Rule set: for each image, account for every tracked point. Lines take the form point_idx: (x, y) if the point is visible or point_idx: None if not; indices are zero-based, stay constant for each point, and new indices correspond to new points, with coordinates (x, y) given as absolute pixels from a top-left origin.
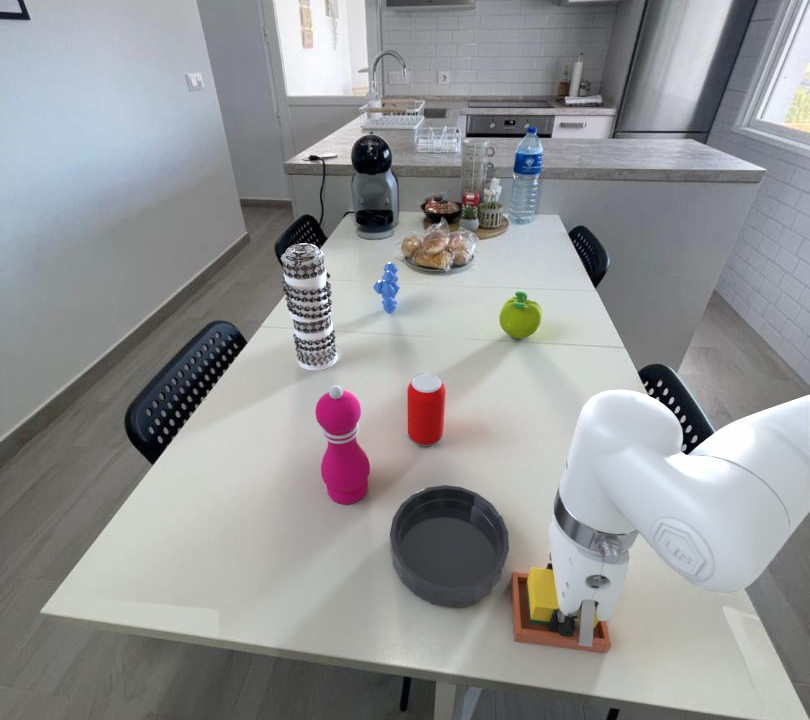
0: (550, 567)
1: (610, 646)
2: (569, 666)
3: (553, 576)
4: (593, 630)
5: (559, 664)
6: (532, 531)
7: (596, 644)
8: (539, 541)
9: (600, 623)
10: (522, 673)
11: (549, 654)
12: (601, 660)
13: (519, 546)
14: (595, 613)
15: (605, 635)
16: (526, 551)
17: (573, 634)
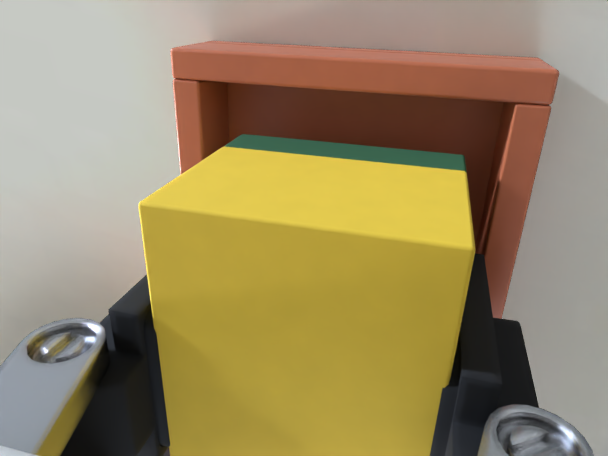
0: (156, 454)
1: (557, 71)
2: (581, 258)
3: (210, 449)
4: (464, 160)
5: (566, 296)
6: (11, 248)
7: (539, 157)
8: (44, 232)
9: (416, 95)
10: (583, 433)
11: (519, 322)
12: (572, 96)
13: (89, 312)
14: (464, 297)
15: (494, 90)
16: (101, 293)
17: (520, 336)
